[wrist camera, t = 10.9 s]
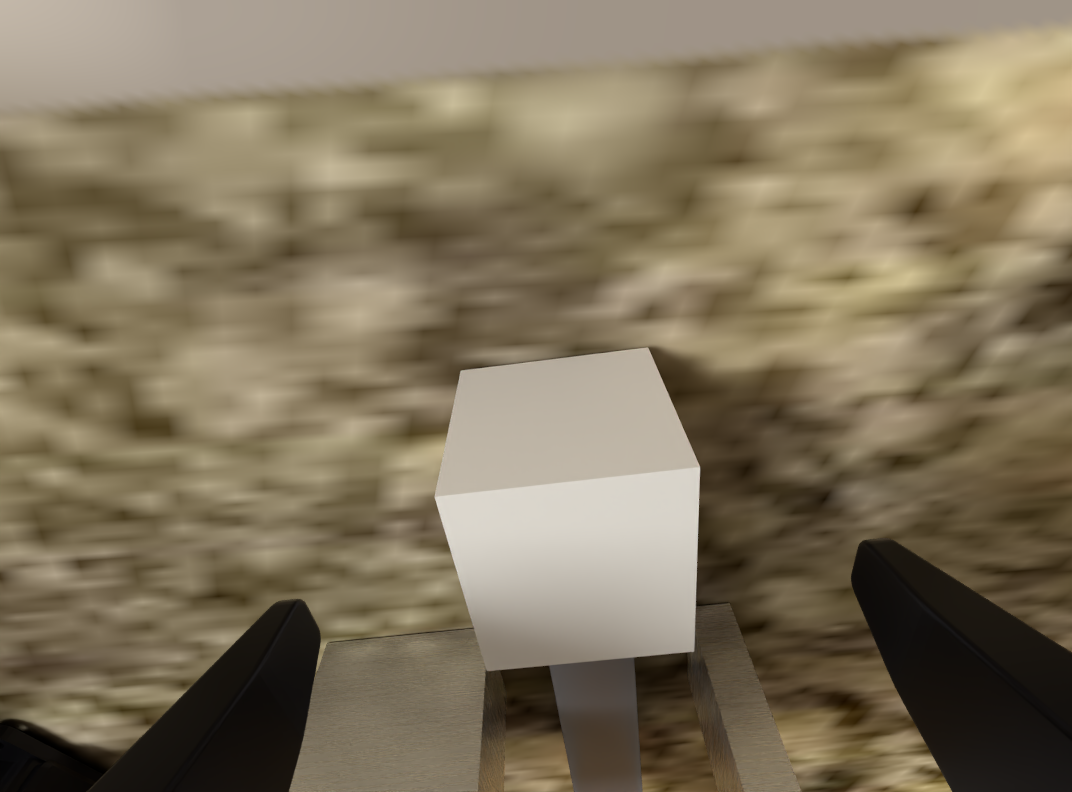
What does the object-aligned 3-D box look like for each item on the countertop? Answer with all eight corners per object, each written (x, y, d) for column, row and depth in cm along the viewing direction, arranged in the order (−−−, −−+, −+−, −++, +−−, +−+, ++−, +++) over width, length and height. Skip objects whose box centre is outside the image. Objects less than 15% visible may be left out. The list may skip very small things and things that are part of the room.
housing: (724, 672, 18) (812, 942, 12) (360, 706, 19) (291, 978, 13) (729, 602, 16) (835, 882, 11) (326, 643, 17) (230, 926, 11)
